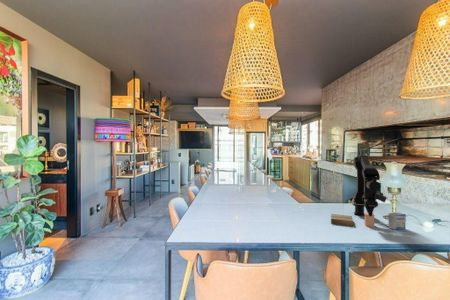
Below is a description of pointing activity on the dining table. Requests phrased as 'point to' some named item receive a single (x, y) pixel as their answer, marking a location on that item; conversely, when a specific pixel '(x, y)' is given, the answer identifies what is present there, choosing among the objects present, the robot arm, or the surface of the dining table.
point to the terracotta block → (369, 220)
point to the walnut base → (341, 219)
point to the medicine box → (397, 221)
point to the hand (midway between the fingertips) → (369, 214)
